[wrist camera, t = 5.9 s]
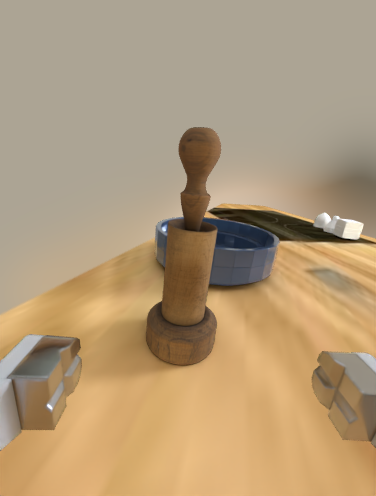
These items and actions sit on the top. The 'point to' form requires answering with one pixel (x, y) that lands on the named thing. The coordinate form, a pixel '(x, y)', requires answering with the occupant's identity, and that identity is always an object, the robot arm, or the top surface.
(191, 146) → the mortar and pestle
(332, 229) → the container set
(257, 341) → the top surface
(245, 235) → the bowl
